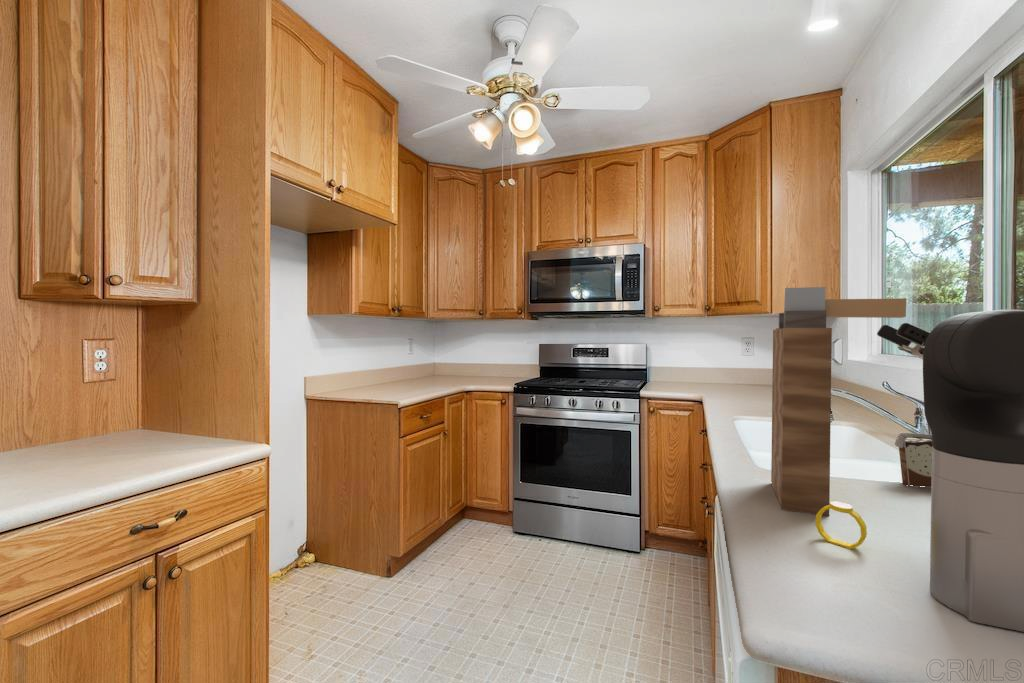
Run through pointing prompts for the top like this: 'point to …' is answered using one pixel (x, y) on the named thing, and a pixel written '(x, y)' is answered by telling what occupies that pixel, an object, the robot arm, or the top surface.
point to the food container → (915, 458)
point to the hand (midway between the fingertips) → (889, 328)
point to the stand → (801, 411)
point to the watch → (844, 509)
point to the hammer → (842, 304)
